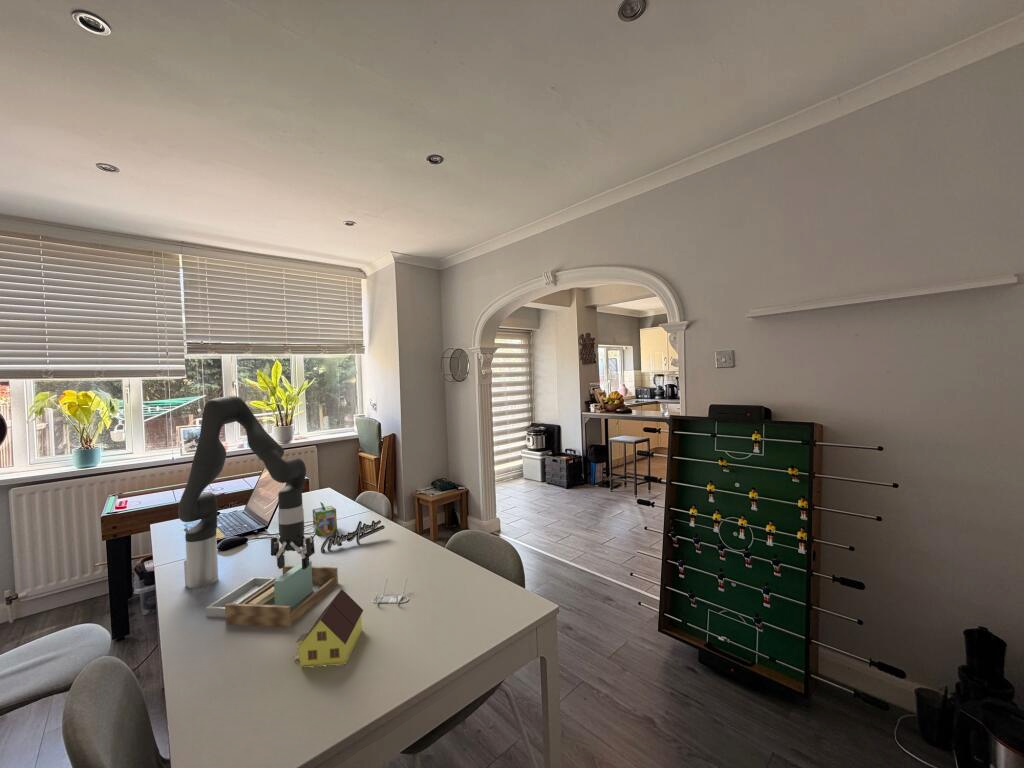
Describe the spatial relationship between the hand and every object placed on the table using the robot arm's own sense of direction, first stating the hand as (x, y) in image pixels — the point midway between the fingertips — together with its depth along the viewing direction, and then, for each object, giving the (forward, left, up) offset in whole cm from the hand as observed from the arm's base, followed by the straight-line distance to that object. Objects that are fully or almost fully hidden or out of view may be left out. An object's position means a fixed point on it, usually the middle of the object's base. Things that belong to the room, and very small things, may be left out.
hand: (293, 568), depth 140 cm
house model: (+26, -22, -12) cm, 36 cm away
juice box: (-28, +63, -12) cm, 70 cm away
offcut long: (-9, -1, -12) cm, 15 cm away
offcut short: (-9, -2, -10) cm, 14 cm away
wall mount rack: (+32, +5, -12) cm, 34 cm away
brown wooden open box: (-3, 0, -12) cm, 12 cm away
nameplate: (-4, +48, -12) cm, 50 cm away
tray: (-19, 0, -12) cm, 22 cm away
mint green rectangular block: (0, 0, -12) cm, 12 cm away
